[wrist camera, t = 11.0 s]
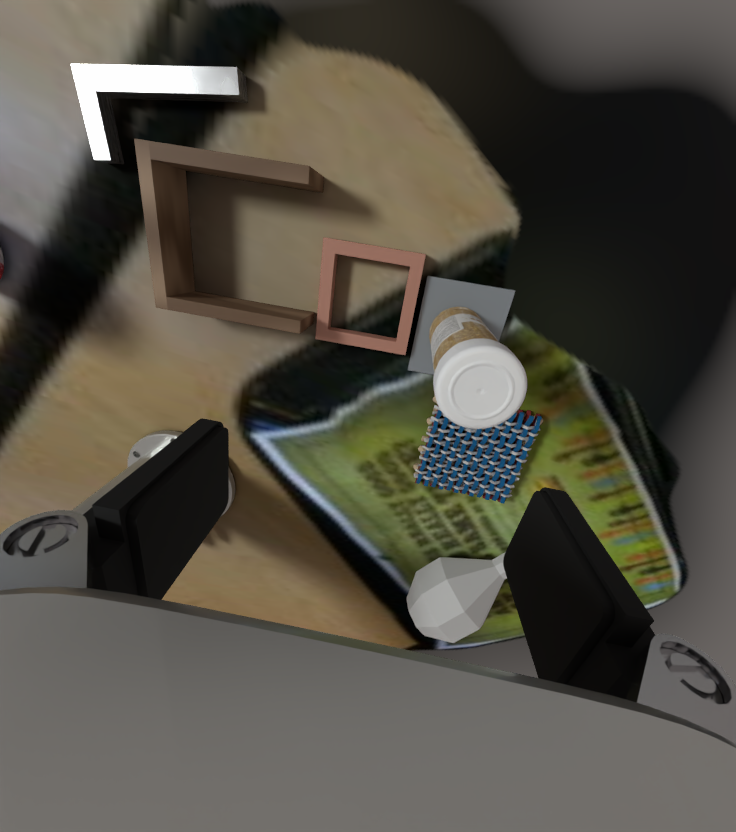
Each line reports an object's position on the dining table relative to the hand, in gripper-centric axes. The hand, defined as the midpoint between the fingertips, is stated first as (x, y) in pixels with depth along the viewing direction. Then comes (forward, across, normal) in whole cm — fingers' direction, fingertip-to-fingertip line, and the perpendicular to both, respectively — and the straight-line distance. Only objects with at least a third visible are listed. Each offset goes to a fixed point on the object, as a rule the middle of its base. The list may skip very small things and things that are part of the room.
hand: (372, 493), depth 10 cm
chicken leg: (+23, -15, +23) cm, 36 cm away
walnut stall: (+22, +14, -5) cm, 27 cm away
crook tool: (+22, +19, -12) cm, 32 cm away
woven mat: (+23, -10, +9) cm, 27 cm away
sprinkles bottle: (+22, -5, -2) cm, 22 cm away
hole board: (+22, +3, -3) cm, 23 cm away
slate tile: (+22, -5, -2) cm, 23 cm away
